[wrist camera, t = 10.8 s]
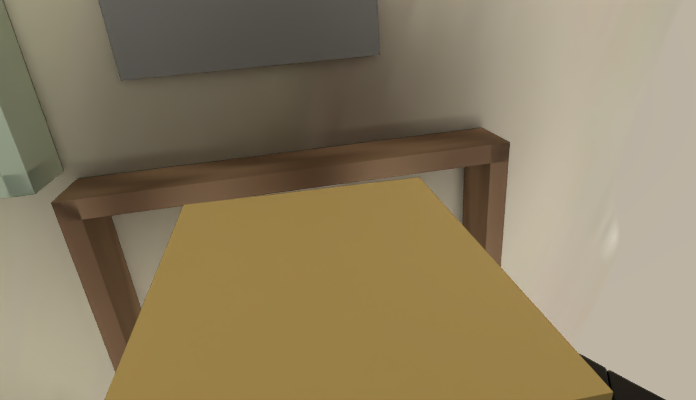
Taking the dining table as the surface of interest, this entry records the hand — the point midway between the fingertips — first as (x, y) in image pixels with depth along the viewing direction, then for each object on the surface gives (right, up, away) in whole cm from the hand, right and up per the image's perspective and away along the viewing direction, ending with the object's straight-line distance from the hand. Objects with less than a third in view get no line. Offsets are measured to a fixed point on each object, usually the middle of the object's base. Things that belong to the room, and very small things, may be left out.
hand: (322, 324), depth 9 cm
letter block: (0, +1, +1) cm, 1 cm away
